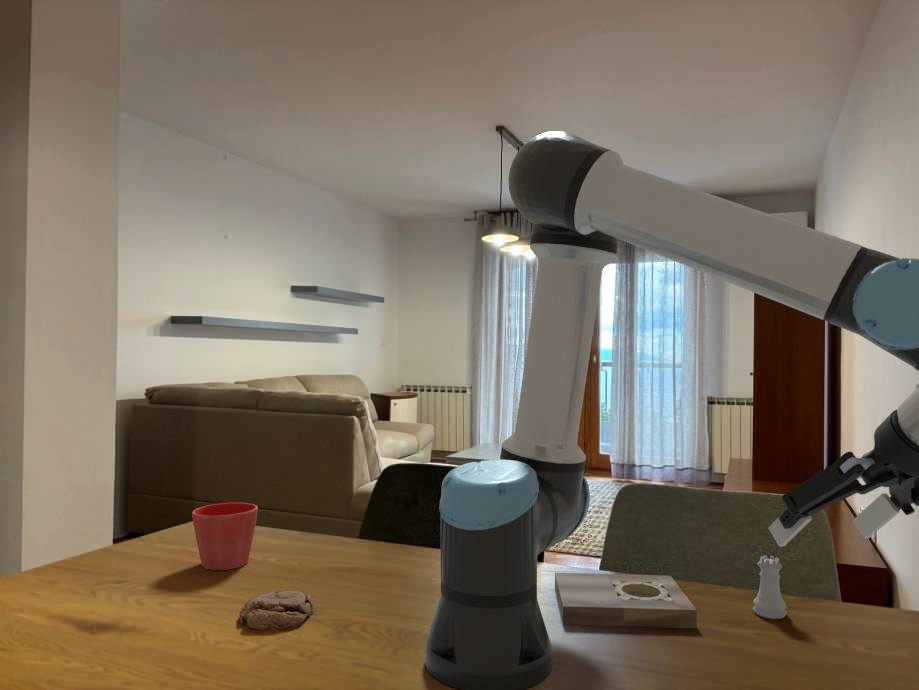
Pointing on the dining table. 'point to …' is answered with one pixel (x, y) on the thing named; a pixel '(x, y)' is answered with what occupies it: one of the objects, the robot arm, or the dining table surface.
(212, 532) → the flower pot
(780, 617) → the rook chess piece
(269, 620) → the cookie
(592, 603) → the socket board
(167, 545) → the dining table surface
